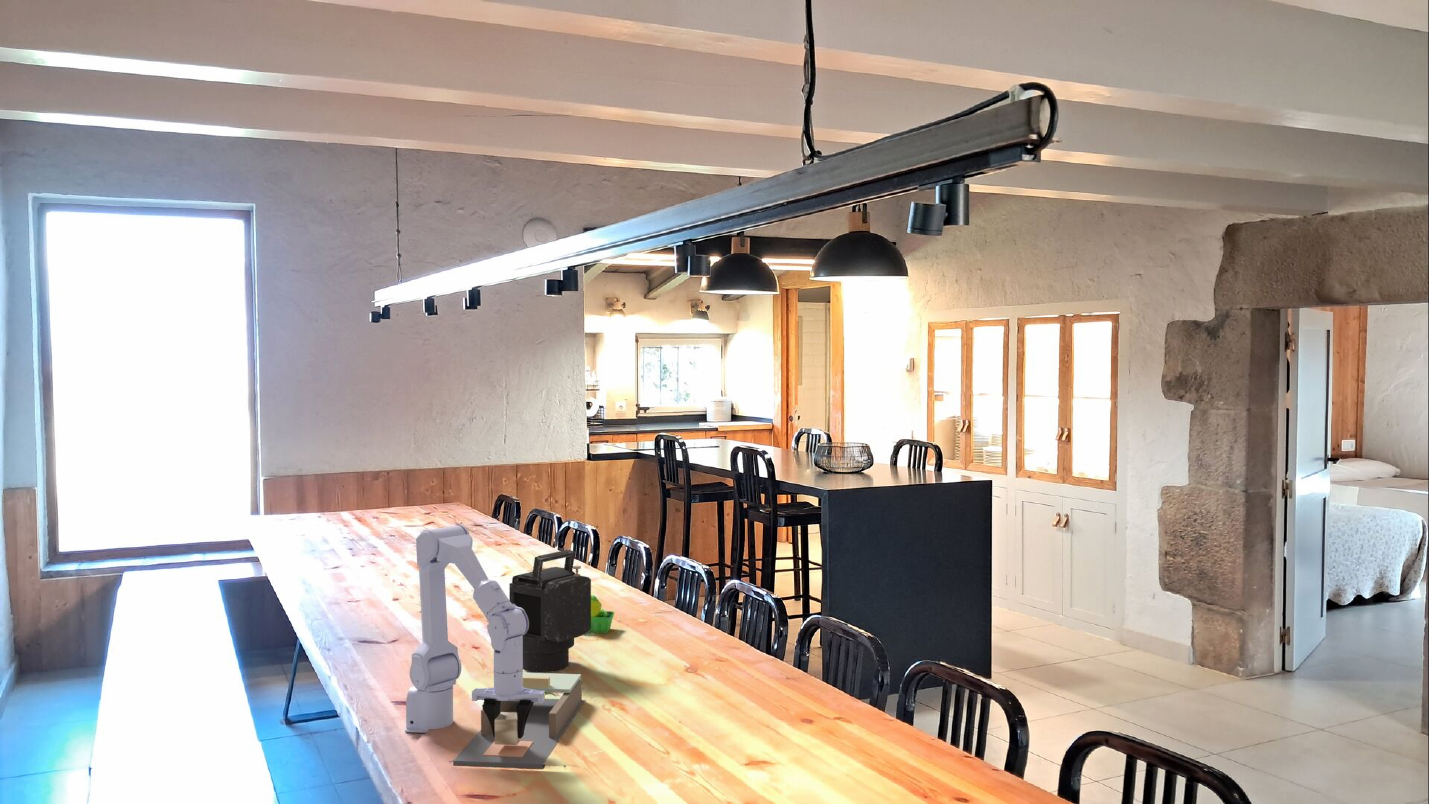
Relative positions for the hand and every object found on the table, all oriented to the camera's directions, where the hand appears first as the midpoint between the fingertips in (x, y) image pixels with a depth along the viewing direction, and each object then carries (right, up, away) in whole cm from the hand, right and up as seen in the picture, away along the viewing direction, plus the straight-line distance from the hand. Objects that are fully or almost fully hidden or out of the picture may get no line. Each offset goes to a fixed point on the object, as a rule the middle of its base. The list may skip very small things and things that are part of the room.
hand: (508, 736), depth 204 cm
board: (+1, -3, +13) cm, 13 cm away
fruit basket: (+6, -1, +95) cm, 95 cm away
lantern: (-2, -2, +59) cm, 60 cm away
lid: (+2, +4, +25) cm, 25 cm away
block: (0, -1, 0) cm, 1 cm away
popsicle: (+2, -3, +40) cm, 40 cm away
